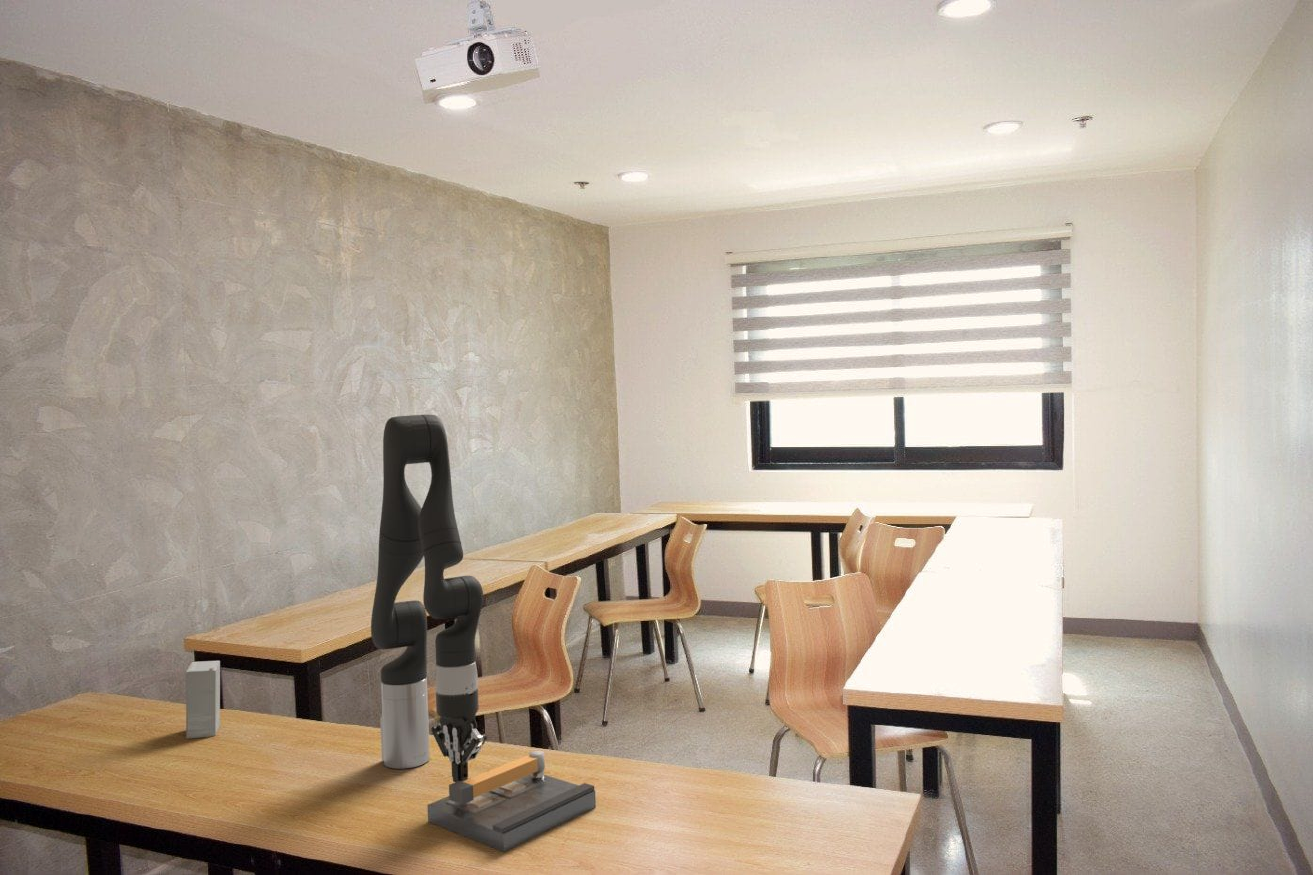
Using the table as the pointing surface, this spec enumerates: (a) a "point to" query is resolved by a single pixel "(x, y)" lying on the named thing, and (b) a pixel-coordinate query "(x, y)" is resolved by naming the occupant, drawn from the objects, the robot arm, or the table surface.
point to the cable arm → (496, 777)
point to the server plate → (514, 810)
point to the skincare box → (202, 699)
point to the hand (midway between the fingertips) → (460, 781)
